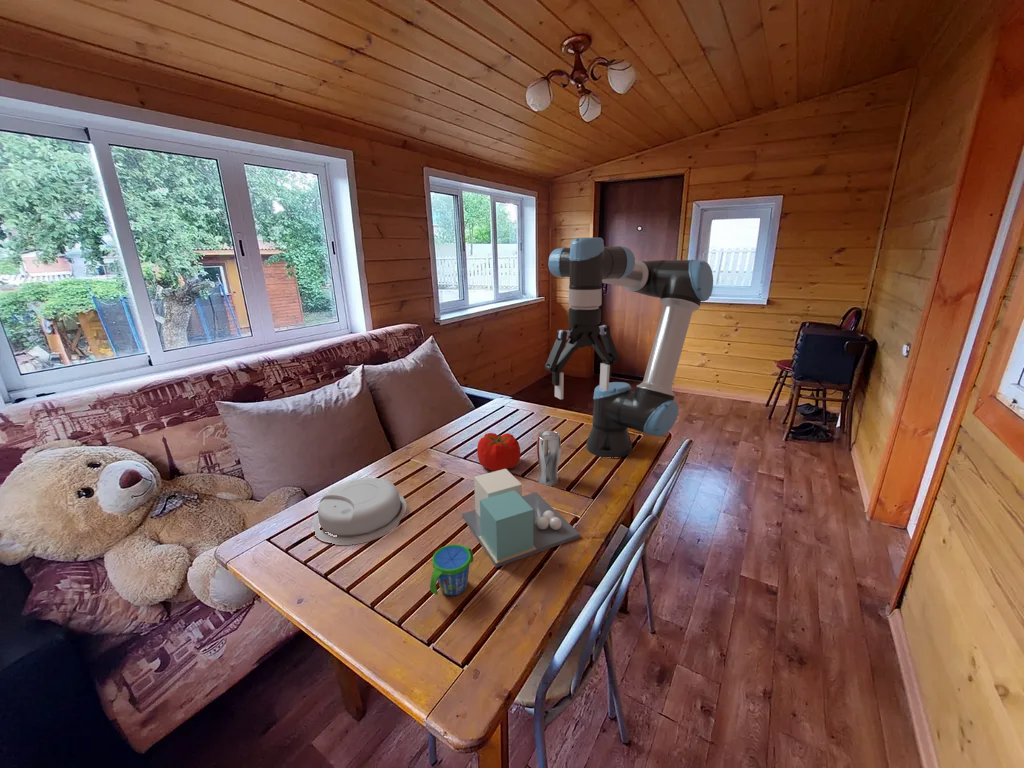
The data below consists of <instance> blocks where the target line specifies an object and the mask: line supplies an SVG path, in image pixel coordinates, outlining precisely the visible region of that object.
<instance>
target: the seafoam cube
mask: <svg viewBox="0 0 1024 768" xmlns="http://www.w3.org/2000/svg"><path fill="white" fill-rule="evenodd" d="M480 519H481V538H482V539H483V540H484V542H485V543H486V545H487V546H488V548H489V549H490V551H491V552H492V554H493V555H494V557H495V558H496V559H497V560H500V559H503V558H506V557H509V556H512V555H514V554H517V553H520V552H523V551H526V550H529V549H531V548H533V509H532V508H531V506H530V505H529V504H528V503H527V502H526V501H525V500H524V499H523V498H522V497H521V496H520V495H519V494H518V493H517V492H516V491H515V490H514V491H510V492H506V493H503V494H499V495H496V496H492V497H489V498H485V499H481V500H480Z"/></svg>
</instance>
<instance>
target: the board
mask: <svg viewBox="0 0 1024 768" xmlns="http://www.w3.org/2000/svg"><path fill="white" fill-rule="evenodd" d="M522 498H523V499H524V500H525V501H526V502H527V503H528V504H529V505H530V506H531V508H532V509H533V548H531V549H529V550H526V551H523V552H520V553H517V554H514V555H512V556H509V557H506V558H503V559H500V560H497V559H496V558H495V557H494V555H493V554H492V552H491V551H490V549H489V548H488V546H487V545H486V543H485V542H484V540H483V539H482V538H481V519H480V516H479V515H478V514H477V512H476V511H475V509H473V510H469V511H467V512H463V513H461V516H462V517H461V518H462V519H463V520H464V521H465V523H466V525H467V527H469V529H470V531H471V533H473V535H474V538H475V539H476V540H477V541H478V543H479V544H480V546H481V548H482V549H483V550H484V552H485V553H486V555H487V556H488V557H489V559H490V561H491V562H492V564H493V565H494V567H495V568H496V569H497V568H499V567H502V566H505V565H507V564H510V563H513V562H516V561H519V560H522V559H524V558H527V557H529V556H532V555H535V554H538V553H541V552H543V551H547V550H549V549H551V548H554V547H557V546H560V545H562V544H565V543H566V544H567V543H569V542H572V541H575V540H577V539H580V538H581V533H580V532H579V531H577V530H576V528H574V526H572V525H571V523H569V522H568V521H567V520H566V519H565V518H564V517H563V516H562V514H560V513H559V512H558V510H557V511H556V510H555V509H554V507H553V506H551V505H550V504H549V503H548V502H547V501H546V500H545V499H544V498H543V497H542V496H541V495H540V494H539V493H538V492H537V491H535V492H532V493H528V494H525V495H522ZM547 510H550V511H552V512H553V513H554V515H555V517H558V518H559V519H560V520H561V522H562V525H561V527H560V529H558V530H553V529H552V528H551V527H550V525H548V527H547V528H546V529H544V530H541V529H539V528H538V527H537V524H536V522H537V519H538V518H539V517H543V513H544V512H545V511H547Z"/></svg>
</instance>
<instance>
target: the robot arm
mask: <svg viewBox="0 0 1024 768" xmlns="http://www.w3.org/2000/svg"><path fill="white" fill-rule="evenodd" d="M547 265H548V269H549V272H550V273H551V275H553V276H554V277H559V278H569V285H568V306H569V309H568V318H567V319H568V320H567V321H568V326H569V327H568V330H564V329H558V330H557V331H556V339H555V341H554V344H553V346H552V348H551V351H550V353H549V355H548V358H547V361H546V362H545V364H544V369H545V370H547V371H548V372H551V374H552V375H551V384H552V385H553V386H554V397H555V398H557V399H559V400H564V380H565V378H564V377H565V376H564V374H565V373H564V372H562V371H563V369H564V368H565V366H566V364H567V363H568V362H569V360H570V359H571V357H572V356H573V354H574V353H575V352H576V351H577V350H579V348H580V349H581V348H584V347H592V348H593V349H594V351H595V352H596V354H597V355H598V356H599V358H600V359H601V360H602V362H600V364H599V365H600V367H599V369H600V371H599V372H600V373H599V384H598V385H597V386H596V387H595V388H594V392H593V397H592V399H593V403H592V404H593V406H592V427H591V430H590V432H589V436H588V438H587V440H586V445H585V446H586V450H587V451H588V452H589V453H590V454H592V455H594V456H596V457H599V456H600V457H599V458H603V457H611V458H610V459H615V458H614V457H621V458H624V456H625V457H627V456H629V455H630V454H631V453H632V452H633V451H632V450H633V443H632V441H631V436H630V433H629V429H630V430H631V429H632V430H634V431H637V432H639V433H644V434H645V435H651V436H654V437H662V436H665V435H666V434H667V433H669V432H670V430H671V429H672V428H673V426H674V424H675V423H676V421H677V418H678V415H679V404H678V403H677V402H676V400H675V396H676V395H675V393H674V392H673V390H672V388H673V384H674V380H675V377H676V373H677V370H678V365H679V362H680V359H681V355H682V351H683V348H684V345H685V340H686V338H687V333H688V330H689V327H690V322H691V319H692V315H693V313H694V312H695V311H697V310H699V309H700V307H701V303H702V302H705V301H708V300H709V299H710V297H711V296H712V293H713V288H714V274H713V270H712V267H711V265H710V263H708V262H707V261H705V260H699V259H698V260H697V259H689V260H688V259H682V260H681V259H678V260H677V259H676V260H675V259H667V260H666V259H660V260H659V259H657V260H656V259H655V260H639V259H636V258H635V255H634V251H632V250H631V248H628V247H626V246H622V245H615V246H605V245H604V239H603V238H602V237H576V238H573V239H572V240H571V241H570V247H565V246H563V247H559V248H555V249H554V250H552V251H551V253H550V254H549V257H548V264H547ZM603 284H607V285H612V286H618V287H623V288H624V289H625V290H626V291H629V292H632V293H637V294H641V295H645V296H647V297H652V298H660V299H659V303H660V304H661V306H662V311H661V314H660V318H659V321H658V325H657V328H656V332H655V337H654V340H653V344H652V348H651V351H650V354H649V358H648V362H647V366H646V368H645V369H646V370H645V373H644V377H643V380H642V382H640V383H639V384H637V385H636V387H635V390H632V387H631V384H630V383H628V382H624V381H621V382H620V381H613V382H610V377H611V376H612V366H615V364H616V362H618V361H620V360H619V359H620V357H619V354H618V352H617V351H618V350H617V348H616V346H615V343H614V340H613V338H612V335H611V327H610V326H609V325H606V324H601V325H600V323H601V317H602V316H601V315H602V309H601V308H600V307H601V306H602V302H603V301H602V300H603V299H602V298H603V297H602V295H603ZM599 335H600V337H601V340H600V339H599V338H598V337H599ZM601 341H602V342H601ZM602 343H603V345H602ZM630 452H631V453H630ZM628 454H629V455H628ZM626 455H627V456H626ZM612 457H613V458H612Z"/></svg>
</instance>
